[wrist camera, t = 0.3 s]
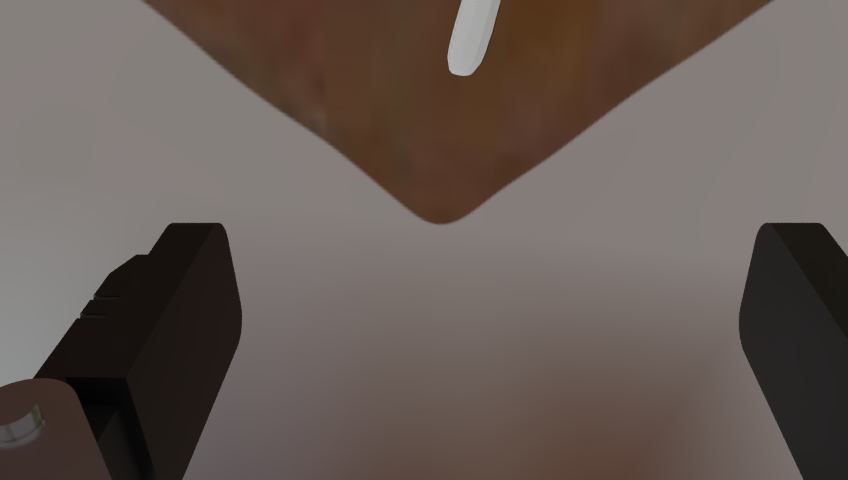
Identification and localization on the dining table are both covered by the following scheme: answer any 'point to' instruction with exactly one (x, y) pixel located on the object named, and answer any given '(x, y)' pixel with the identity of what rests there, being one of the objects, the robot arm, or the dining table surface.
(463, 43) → the butter knife
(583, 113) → the dining table surface
